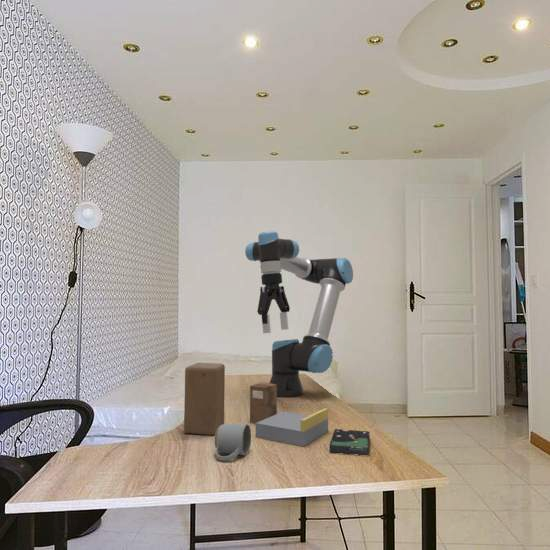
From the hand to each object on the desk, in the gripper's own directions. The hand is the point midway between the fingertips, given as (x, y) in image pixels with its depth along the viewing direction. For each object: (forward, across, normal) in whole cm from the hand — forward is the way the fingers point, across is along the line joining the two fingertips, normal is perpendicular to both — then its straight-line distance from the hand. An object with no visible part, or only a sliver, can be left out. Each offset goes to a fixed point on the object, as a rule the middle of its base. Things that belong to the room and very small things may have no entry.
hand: (276, 331), depth 159 cm
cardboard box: (+28, +15, 0) cm, 32 cm away
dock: (+29, +22, +15) cm, 40 cm away
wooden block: (+27, +32, -10) cm, 43 cm away
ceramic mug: (+28, +46, +9) cm, 54 cm away
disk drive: (+32, +23, +33) cm, 52 cm away
